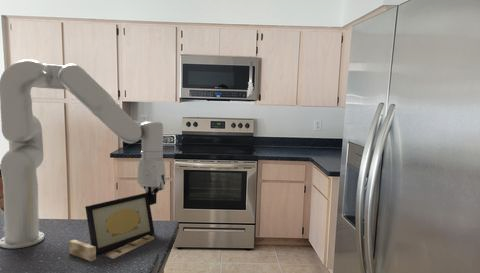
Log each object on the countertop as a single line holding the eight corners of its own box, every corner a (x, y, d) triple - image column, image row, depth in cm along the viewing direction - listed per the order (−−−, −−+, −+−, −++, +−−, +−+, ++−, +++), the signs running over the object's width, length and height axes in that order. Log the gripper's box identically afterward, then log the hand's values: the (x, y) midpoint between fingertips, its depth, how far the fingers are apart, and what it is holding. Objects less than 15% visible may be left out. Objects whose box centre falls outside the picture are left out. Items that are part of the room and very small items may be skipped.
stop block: (69, 253, 105) (69, 241, 104) (74, 251, 106) (74, 239, 106) (91, 261, 100) (91, 248, 100) (95, 259, 102) (95, 246, 101)
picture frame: (94, 255, 104) (91, 207, 103) (80, 250, 109) (77, 204, 109) (155, 234, 122) (152, 193, 122) (139, 230, 128) (137, 191, 127)
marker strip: (106, 256, 104) (106, 253, 104) (147, 237, 120) (147, 234, 120) (113, 258, 102) (113, 255, 102) (154, 239, 118) (154, 236, 118)
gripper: (129, 154, 124) (129, 203, 125) (161, 158, 117) (160, 210, 118) (144, 152, 130) (143, 198, 132) (174, 155, 123) (174, 204, 125)
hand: (151, 203), depth 125 cm, fingers closed
